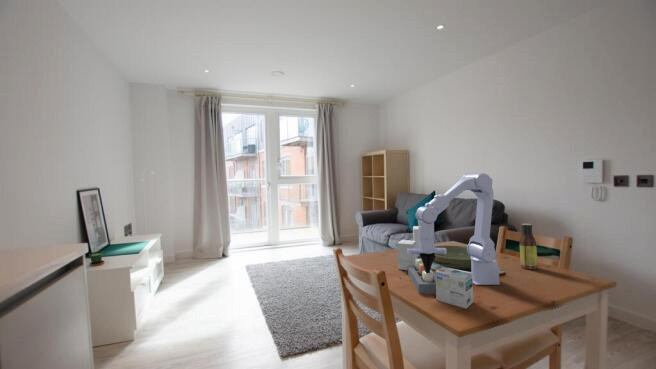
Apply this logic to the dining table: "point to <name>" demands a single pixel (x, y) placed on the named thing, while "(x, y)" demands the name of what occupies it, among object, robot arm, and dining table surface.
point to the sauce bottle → (528, 248)
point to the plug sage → (418, 264)
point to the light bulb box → (454, 287)
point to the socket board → (418, 281)
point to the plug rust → (421, 269)
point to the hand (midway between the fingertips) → (427, 272)
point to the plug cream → (427, 276)
